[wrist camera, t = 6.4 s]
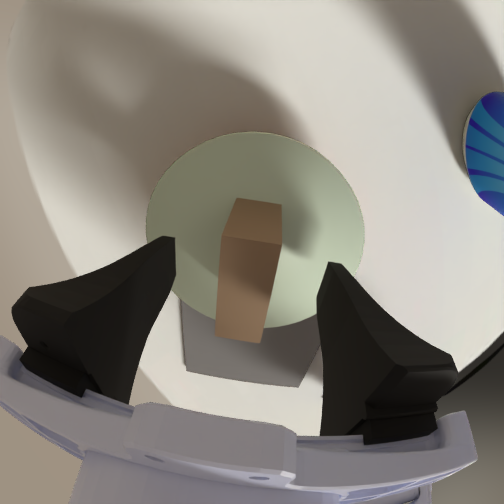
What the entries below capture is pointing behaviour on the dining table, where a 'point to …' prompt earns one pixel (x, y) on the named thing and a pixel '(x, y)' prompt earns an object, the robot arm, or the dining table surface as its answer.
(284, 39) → the dining table surface
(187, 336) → the mat
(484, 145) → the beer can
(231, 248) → the lid
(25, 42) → the dining table surface
